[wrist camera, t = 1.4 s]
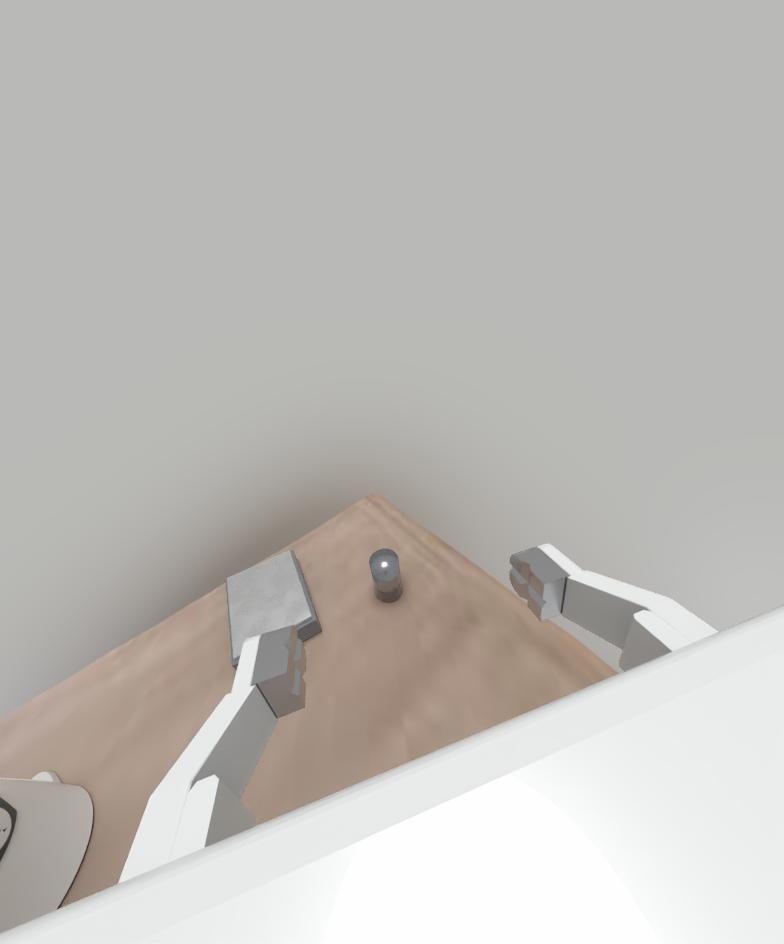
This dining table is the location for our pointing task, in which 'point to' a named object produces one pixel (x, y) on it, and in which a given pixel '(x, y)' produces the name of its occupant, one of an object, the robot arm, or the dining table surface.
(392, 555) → the cylinder
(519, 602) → the dining table surface
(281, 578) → the kitchen scale
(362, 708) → the dining table surface
